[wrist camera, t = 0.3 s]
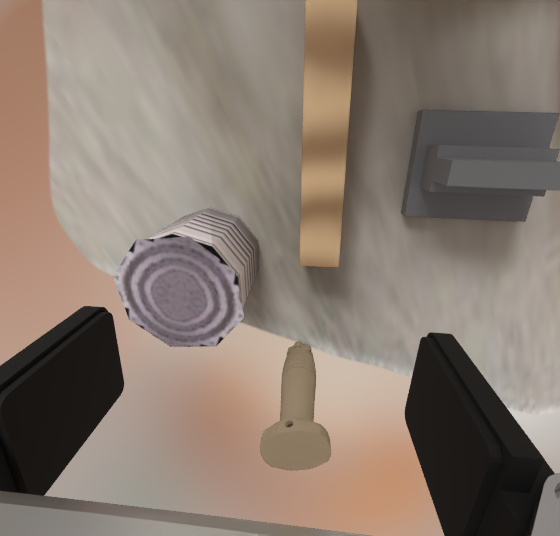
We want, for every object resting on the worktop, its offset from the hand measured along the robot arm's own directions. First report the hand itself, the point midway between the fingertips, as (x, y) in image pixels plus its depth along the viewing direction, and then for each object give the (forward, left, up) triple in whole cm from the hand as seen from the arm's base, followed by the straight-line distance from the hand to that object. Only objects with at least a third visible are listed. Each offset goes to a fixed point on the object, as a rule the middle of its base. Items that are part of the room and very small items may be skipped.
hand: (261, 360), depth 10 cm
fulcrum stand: (-4, +17, -28) cm, 33 cm away
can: (+7, -10, -28) cm, 31 cm away
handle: (+20, +1, -28) cm, 35 cm away
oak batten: (-6, +2, -29) cm, 29 cm away
